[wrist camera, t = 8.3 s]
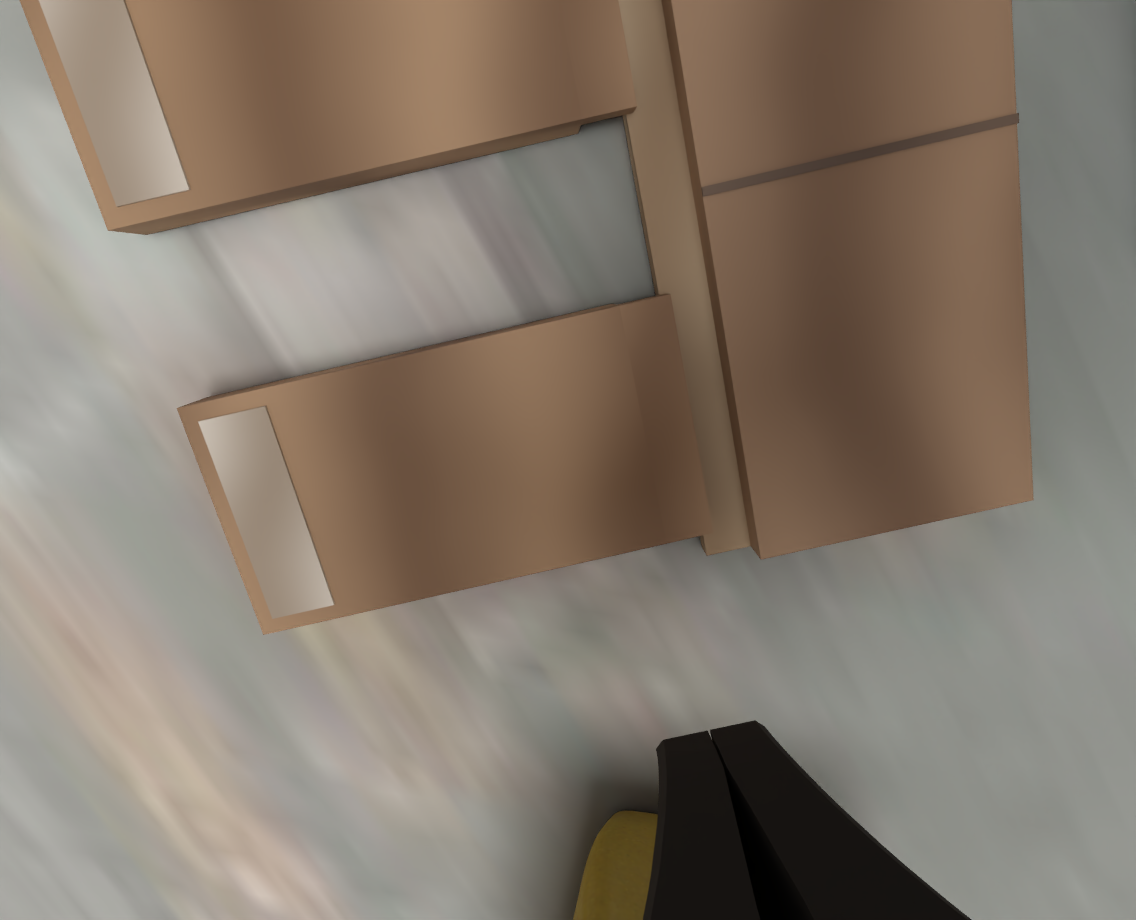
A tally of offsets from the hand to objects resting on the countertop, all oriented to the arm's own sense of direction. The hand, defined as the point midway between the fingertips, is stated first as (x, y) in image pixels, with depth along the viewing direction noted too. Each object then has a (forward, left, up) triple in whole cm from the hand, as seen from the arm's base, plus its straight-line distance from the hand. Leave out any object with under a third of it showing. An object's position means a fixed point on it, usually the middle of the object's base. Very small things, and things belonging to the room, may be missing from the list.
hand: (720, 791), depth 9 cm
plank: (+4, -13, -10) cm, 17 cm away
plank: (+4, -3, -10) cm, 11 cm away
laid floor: (-6, -8, -10) cm, 14 cm away
